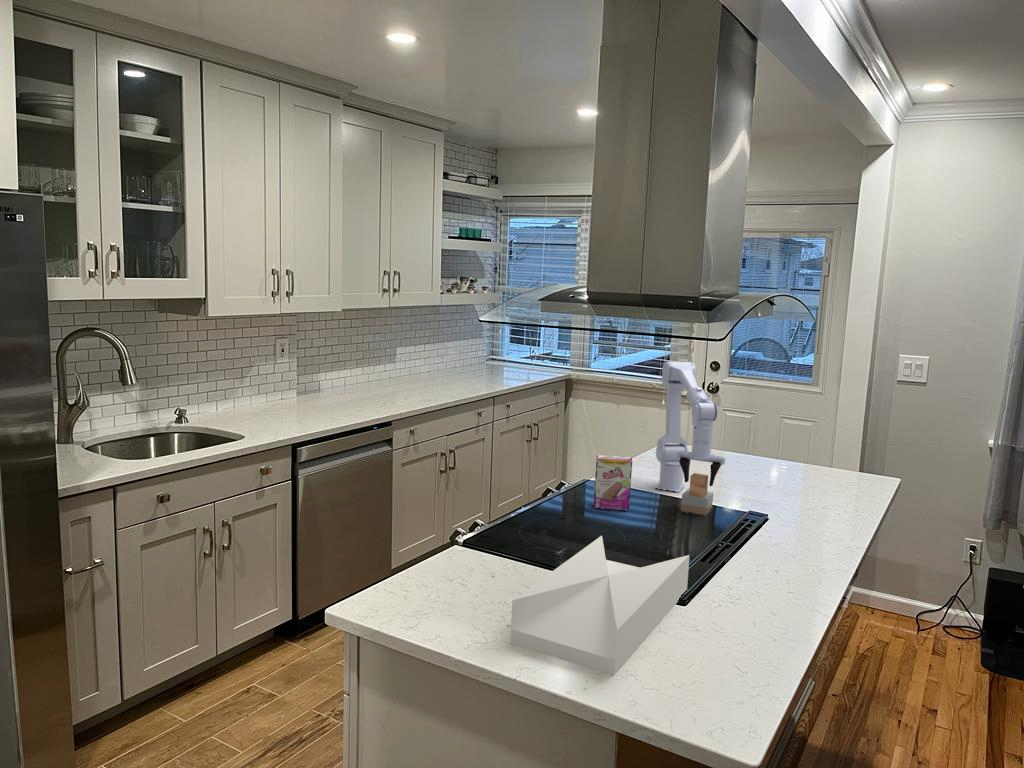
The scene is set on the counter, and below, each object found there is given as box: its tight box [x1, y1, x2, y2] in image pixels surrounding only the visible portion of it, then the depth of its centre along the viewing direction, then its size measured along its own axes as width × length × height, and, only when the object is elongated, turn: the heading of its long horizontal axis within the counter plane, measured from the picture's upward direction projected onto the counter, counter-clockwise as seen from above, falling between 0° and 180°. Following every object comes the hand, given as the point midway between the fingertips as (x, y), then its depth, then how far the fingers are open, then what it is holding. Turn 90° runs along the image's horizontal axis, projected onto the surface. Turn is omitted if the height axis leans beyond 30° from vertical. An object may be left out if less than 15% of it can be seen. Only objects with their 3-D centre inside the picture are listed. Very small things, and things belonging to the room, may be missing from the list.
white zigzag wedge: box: [510, 535, 690, 676], centre depth 167 cm, size 45×22×10 cm, turn 151°
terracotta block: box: [689, 472, 709, 497], centre depth 241 cm, size 4×4×6 cm
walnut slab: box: [679, 503, 713, 515], centre depth 243 cm, size 8×8×3 cm
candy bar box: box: [593, 454, 633, 511], centre depth 241 cm, size 11×5×16 cm, turn 84°
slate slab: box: [680, 488, 714, 509], centre depth 242 cm, size 8×8×3 cm
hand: (698, 483), depth 241 cm, fingers open, 7 cm apart
